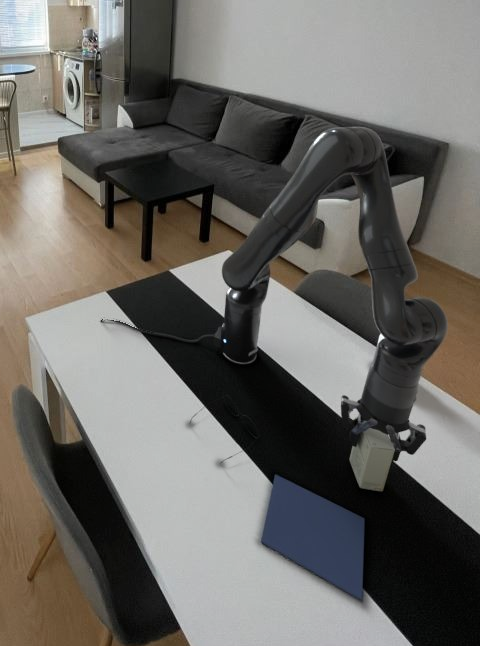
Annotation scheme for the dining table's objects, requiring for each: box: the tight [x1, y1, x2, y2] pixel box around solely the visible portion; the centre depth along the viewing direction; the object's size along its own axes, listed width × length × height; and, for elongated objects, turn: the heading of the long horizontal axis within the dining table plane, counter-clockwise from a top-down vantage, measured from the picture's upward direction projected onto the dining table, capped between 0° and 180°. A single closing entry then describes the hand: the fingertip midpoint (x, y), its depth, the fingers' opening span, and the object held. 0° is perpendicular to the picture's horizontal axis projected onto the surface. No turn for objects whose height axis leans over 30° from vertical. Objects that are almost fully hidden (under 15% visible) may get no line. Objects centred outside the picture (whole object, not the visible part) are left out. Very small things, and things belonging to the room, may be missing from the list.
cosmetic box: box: [349, 428, 395, 492], centre depth 87 cm, size 6×4×12 cm
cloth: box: [260, 474, 366, 602], centre depth 81 cm, size 16×14×1 cm
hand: (371, 450), depth 86 cm, fingers closed on cosmetic box, 5 cm apart
